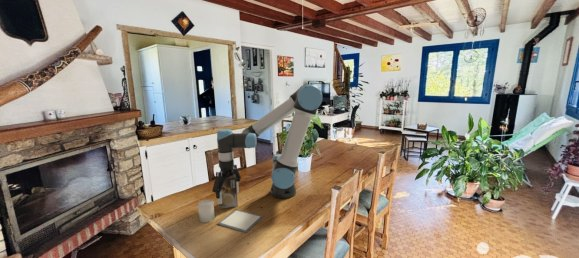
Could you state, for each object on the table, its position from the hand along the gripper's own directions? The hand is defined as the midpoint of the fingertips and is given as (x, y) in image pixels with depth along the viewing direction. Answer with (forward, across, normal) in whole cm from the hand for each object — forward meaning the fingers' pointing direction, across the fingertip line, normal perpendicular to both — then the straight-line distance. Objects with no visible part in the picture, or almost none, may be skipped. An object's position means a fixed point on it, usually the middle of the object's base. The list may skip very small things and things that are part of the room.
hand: (228, 197), depth 130 cm
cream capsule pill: (+4, +15, -1) cm, 16 cm away
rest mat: (+4, +10, +15) cm, 18 cm away
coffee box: (+4, 0, 0) cm, 4 cm away
